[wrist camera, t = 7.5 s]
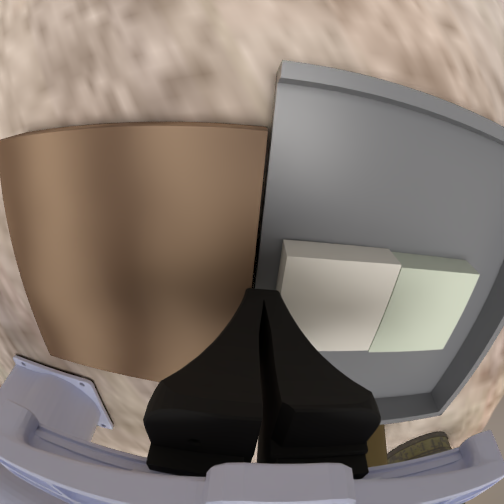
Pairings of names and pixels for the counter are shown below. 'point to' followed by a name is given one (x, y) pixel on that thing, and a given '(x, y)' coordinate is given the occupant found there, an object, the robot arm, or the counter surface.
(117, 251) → the walnut plate
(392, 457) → the thermos
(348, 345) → the tile
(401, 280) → the tile
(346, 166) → the box
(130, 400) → the counter surface
